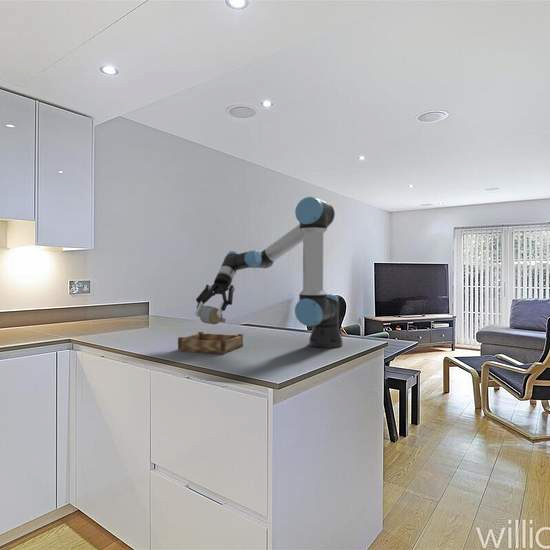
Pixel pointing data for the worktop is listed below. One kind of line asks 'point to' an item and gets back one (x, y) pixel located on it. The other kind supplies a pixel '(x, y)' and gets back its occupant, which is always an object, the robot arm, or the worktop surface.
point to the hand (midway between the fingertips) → (207, 315)
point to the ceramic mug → (210, 315)
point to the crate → (210, 343)
